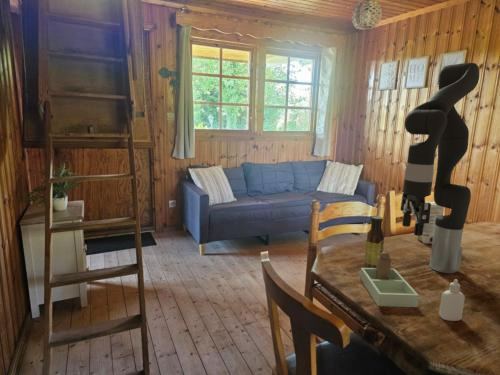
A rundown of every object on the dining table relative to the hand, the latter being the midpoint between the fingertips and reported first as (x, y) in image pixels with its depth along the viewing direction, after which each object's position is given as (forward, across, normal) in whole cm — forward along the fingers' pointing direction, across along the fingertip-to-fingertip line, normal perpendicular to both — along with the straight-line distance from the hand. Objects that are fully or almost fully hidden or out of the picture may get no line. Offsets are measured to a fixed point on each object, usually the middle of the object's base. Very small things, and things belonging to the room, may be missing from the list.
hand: (411, 230), depth 99 cm
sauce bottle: (+23, +23, +3) cm, 32 cm away
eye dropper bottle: (+23, -10, -9) cm, 27 cm away
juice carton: (+23, +53, -32) cm, 66 cm away
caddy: (+23, +4, +4) cm, 23 cm away
